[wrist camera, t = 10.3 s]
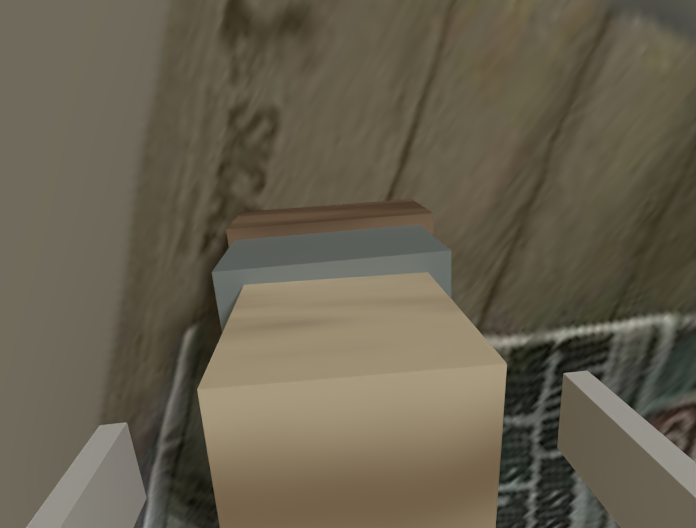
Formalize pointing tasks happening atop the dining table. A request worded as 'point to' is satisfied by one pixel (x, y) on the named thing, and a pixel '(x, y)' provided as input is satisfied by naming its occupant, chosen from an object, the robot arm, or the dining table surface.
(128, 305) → the dining table surface
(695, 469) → the robot arm
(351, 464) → the maple cube
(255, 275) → the tower top
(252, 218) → the tower base
